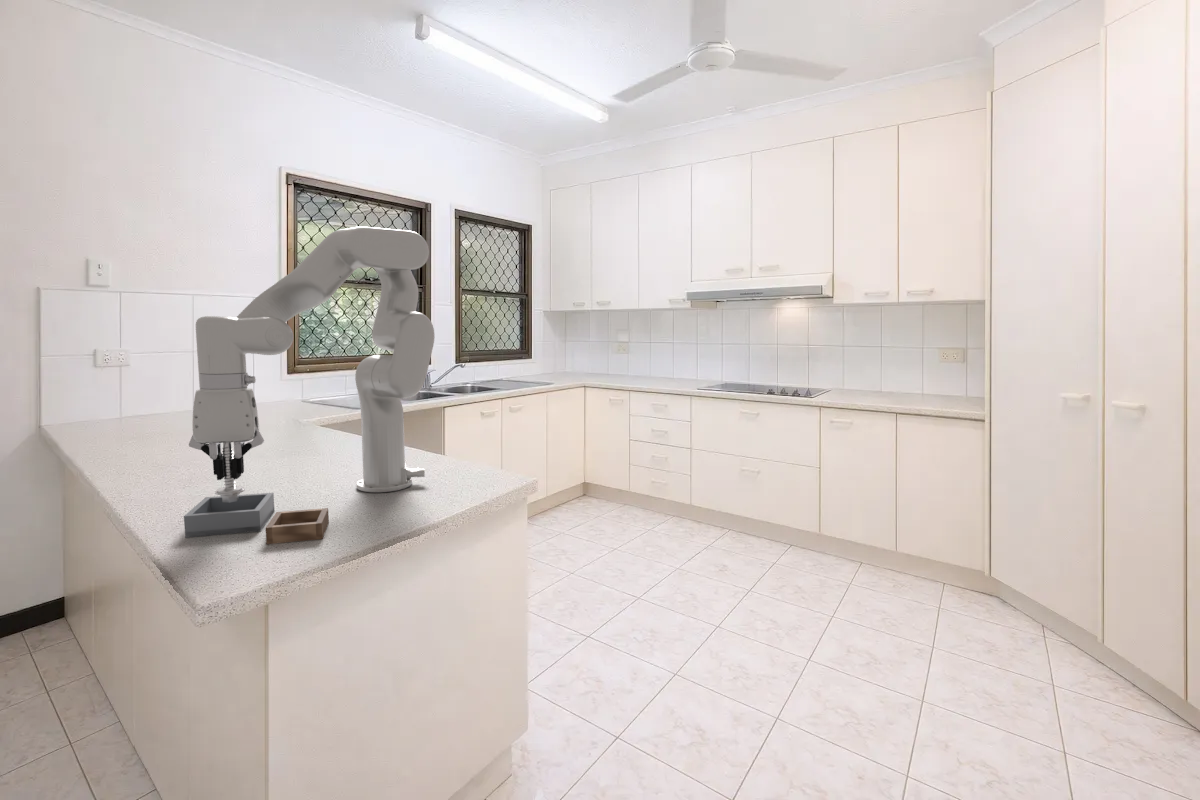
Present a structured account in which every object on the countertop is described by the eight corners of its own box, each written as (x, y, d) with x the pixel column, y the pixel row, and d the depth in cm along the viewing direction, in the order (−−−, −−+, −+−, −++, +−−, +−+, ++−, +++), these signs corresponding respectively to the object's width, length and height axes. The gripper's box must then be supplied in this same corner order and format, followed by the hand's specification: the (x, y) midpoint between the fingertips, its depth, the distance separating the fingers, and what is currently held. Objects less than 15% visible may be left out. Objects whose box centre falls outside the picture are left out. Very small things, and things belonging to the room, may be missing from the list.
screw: (211, 500, 110) (239, 495, 113) (220, 506, 107) (249, 500, 110) (207, 434, 108) (236, 431, 112) (216, 437, 105) (245, 434, 109)
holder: (328, 522, 112) (328, 508, 112) (322, 539, 104) (321, 523, 103) (277, 527, 109) (276, 512, 109) (266, 544, 101) (265, 527, 100)
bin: (274, 511, 118) (273, 492, 118) (260, 531, 107) (259, 510, 107) (207, 516, 115) (205, 497, 114) (185, 537, 103) (183, 516, 103)
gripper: (275, 380, 113) (279, 470, 116) (181, 381, 108) (187, 475, 111) (266, 384, 106) (271, 480, 109) (165, 385, 101) (172, 485, 104)
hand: (229, 477), depth 110 cm, fingers closed on screw, 2 cm apart
